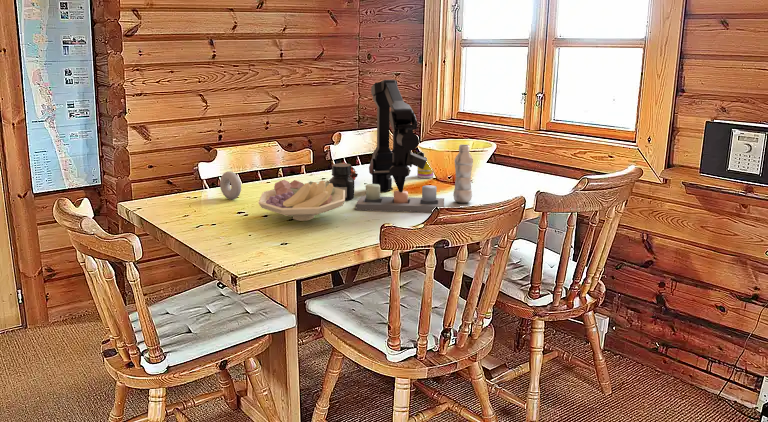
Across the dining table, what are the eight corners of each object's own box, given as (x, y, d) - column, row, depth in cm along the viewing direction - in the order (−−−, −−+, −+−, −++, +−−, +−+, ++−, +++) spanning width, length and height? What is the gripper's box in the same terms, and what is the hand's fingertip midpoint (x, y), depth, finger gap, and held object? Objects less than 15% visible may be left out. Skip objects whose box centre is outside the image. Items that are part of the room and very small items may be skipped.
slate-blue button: (421, 201, 226) (421, 188, 225) (422, 197, 231) (422, 185, 230) (436, 201, 226) (436, 188, 225) (436, 198, 231) (436, 185, 229)
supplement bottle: (434, 178, 276) (434, 147, 272) (417, 178, 276) (418, 147, 272) (433, 175, 282) (433, 144, 279) (417, 175, 282) (417, 144, 279)
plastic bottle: (473, 201, 239) (475, 144, 234) (469, 205, 233) (471, 147, 228) (455, 199, 241) (457, 143, 236) (451, 203, 235) (452, 146, 230)
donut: (243, 200, 237) (242, 172, 235) (235, 202, 235) (234, 174, 232) (226, 196, 244) (225, 168, 241) (218, 198, 241) (217, 170, 239)
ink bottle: (323, 198, 242) (322, 164, 239) (341, 194, 248) (341, 161, 245) (342, 202, 236) (342, 168, 233) (360, 198, 242) (360, 165, 239)
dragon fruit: (335, 183, 274) (354, 192, 266) (323, 173, 267) (342, 182, 259) (346, 165, 275) (366, 174, 267) (334, 155, 268) (354, 164, 260)
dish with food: (311, 235, 197) (310, 187, 193) (239, 221, 211) (237, 176, 207) (364, 215, 220) (364, 171, 216) (296, 203, 234) (295, 162, 230)
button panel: (355, 210, 226) (355, 204, 225) (360, 201, 237) (360, 195, 237) (443, 212, 223) (443, 206, 222) (444, 203, 234) (444, 198, 234)
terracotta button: (393, 206, 228) (393, 193, 227) (394, 202, 232) (394, 190, 231) (407, 206, 227) (407, 193, 226) (408, 203, 232) (408, 190, 231)
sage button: (364, 199, 228) (364, 186, 227) (366, 196, 233) (366, 183, 232) (379, 199, 228) (379, 187, 227) (380, 196, 232) (380, 184, 231)
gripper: (424, 150, 215) (423, 198, 219) (426, 142, 233) (426, 186, 237) (389, 150, 216) (389, 198, 220) (394, 141, 234) (394, 185, 238)
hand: (400, 191), depth 229 cm, fingers closed, pressing on terracotta button
